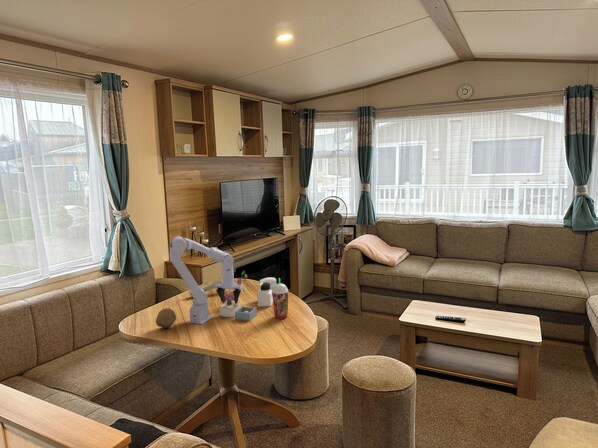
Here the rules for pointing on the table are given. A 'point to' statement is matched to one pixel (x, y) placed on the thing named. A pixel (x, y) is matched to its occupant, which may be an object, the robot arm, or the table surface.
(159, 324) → the natural sponge
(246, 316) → the slate pot
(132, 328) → the table surface
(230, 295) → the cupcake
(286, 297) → the smoothie
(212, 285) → the flower vase
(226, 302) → the lid
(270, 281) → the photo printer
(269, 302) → the medicine bottle
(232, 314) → the cream pot
